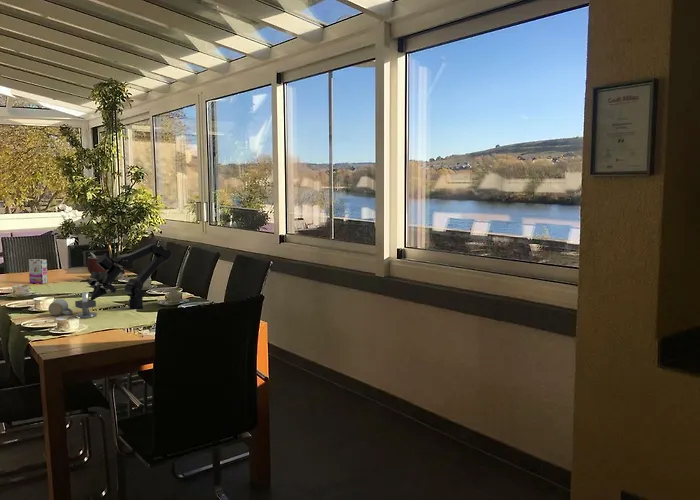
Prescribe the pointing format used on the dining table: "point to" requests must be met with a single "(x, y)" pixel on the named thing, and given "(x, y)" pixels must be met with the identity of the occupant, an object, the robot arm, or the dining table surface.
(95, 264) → the mate gourd
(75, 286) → the dining table surface
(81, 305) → the ring
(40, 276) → the candy bar box
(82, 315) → the pipe stand
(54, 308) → the ceramic mug
